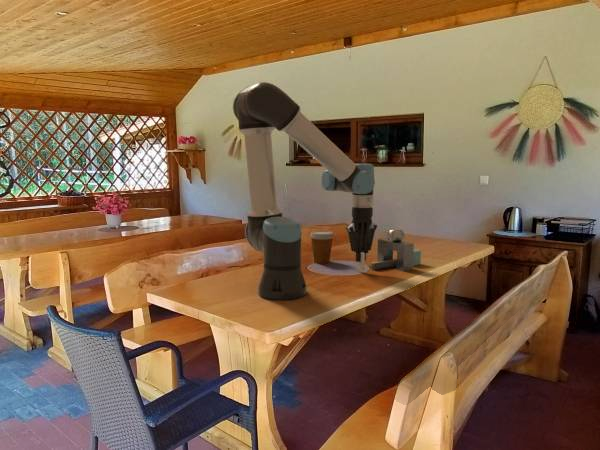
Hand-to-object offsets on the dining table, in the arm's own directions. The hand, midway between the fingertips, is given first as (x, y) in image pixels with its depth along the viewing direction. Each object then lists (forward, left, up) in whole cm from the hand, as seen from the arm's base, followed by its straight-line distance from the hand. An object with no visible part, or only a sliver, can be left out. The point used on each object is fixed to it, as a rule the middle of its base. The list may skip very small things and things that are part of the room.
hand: (360, 270), depth 181 cm
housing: (+17, 0, -1) cm, 17 cm away
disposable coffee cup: (-2, +22, -1) cm, 22 cm away
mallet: (+17, 0, -1) cm, 17 cm away
